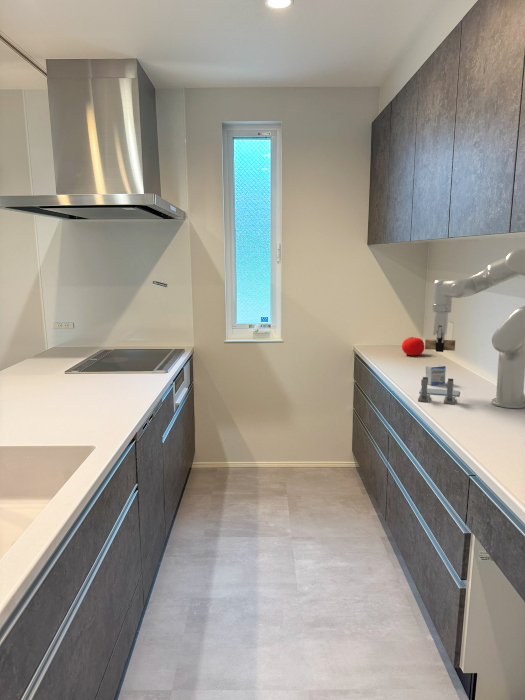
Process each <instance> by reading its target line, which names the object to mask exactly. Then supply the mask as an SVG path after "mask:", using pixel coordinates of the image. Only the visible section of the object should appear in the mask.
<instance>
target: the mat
mask: <svg viewBox="0 0 525 700" xmlns="http://www.w3.org/2000/svg"><path fill="white" fill-rule="evenodd" d="M418 394H419V395H420V394H422V387H420V390H419V391H418ZM427 395H437V396H447V389H444V388H443V389H440V388H439V389H438V388H428V387H427ZM459 395H460V390H454V389H453V397H459Z"/></svg>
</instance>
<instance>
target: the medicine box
mask: <svg viewBox="0 0 525 700" xmlns="http://www.w3.org/2000/svg"><path fill="white" fill-rule="evenodd" d="M446 367H447V366H446V365H443V364H435V365H427V366H425V377H428V384H427V385H429V386H438V385H439V384H440V385H446V371H447V370H446V369H447V368H446Z"/></svg>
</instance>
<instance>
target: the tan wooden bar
mask: <svg viewBox="0 0 525 700" xmlns="http://www.w3.org/2000/svg"><path fill="white" fill-rule="evenodd" d="M424 341H425V342H424V350H432V351H433V350H435V351H436V341H437V339H432V338H430V339H429V338H426V339H425V340H424ZM443 343H444V351H454V352H455V351H456V340H455V339H453V340H452V339H444V340H443Z"/></svg>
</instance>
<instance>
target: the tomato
mask: <svg viewBox="0 0 525 700" xmlns="http://www.w3.org/2000/svg"><path fill="white" fill-rule="evenodd" d="M401 349H402V351H403V352H404V354H406V355H408V356H414V357H415V356H417V357H418V356H420V355H422V354H423V352H424V350H425V342H424V341H423V339H421V338H419V337H417V336H416V337H415V336H414V337H413V336H411V337H407V338H406V339H404V340H403V341H402V343H401Z"/></svg>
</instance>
